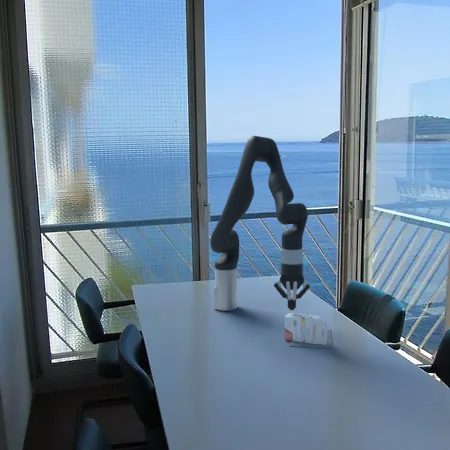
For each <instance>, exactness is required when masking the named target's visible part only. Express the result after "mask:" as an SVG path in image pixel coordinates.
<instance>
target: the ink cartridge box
mask: <svg viewBox="0 0 450 450" xmlns="http://www.w3.org/2000/svg"><path fill="white" fill-rule="evenodd" d="M322 330H324V333H325V334H324V337H322ZM327 330H328V322H327V321H322V316H319V315H313V314H305V313H304V314H303V313H295V312H288V313H287V314H286V315H285V316H284V339H285V340H286V341H290V340H291V341H298V342H304V343H311V344H322V345H327Z"/></svg>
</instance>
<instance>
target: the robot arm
mask: <svg viewBox="0 0 450 450" xmlns="http://www.w3.org/2000/svg"><path fill="white" fill-rule="evenodd" d="M256 162H260V163H265V164H267V166H268V168H269V176H268V182H267V185H268V189H269V191H270V193H271V195H272V197H273V200H274V206H275V215H276V219H277V221H278V222H279V223H280V224H281V225H286V226H287V225H292V227H291V228H290V229H288V230H285V231H284V232H282V233H281V234H282V235H281V253H280V277H279V280H278V281H276V282H275V281H274V283H273V286H274V289H276V291H277V292H278V293H279V295H280V296H281V297H282V298H283V299H286V301H287V309H289V311H294V310H295V309H296V308H297V300H298V299H299V300H300V299H301V298H302V297H303V296H304V295H305V294H306V293H307V291H308V290H309V289H310V288H311V284H310V283H309V282H307V281H306V280H305V277H304V253H303V251H304V250H303V237H304V233H305V228H306V224H307V221H308V217H309V213H308V209H307V207H306V205H305V204H304V203H301V202H300V203H299V202H294V203H291V202H292V201H293V200H294V198H295V197H294V196H295V194H294V192H293V189H292V187H291V185H290V183H289V181H288V179H287V177H286V174H285V171H284V167H283V163H282V159H281V156H280V152H279V148H278V145H277V143H276V141H275V140H274V139H273V138H271V137H270V138H269V137H267V136H258V135H251V136H250V137H249V138H248V139H247V140H246V143H245V145H244V148H243V151H242V156H241V160H240V162H239V163H240V164H239V166H238V170H237V173H236V176H235V178H234V181H233V184H232V186H231V189H230V191H229V194H228V195H227V196H228V197H227V200H226V203H225V205H224V207H223V210H222V212H221V215H220V217H219V220H218V222H217V224H216V226H215V228H214V229H213V231H212V234H211V236H210V241H209V244H210V248H211V250H212V251H213V252H214V253H217V254H221V255H220V256H219V258H217V260H215V262H214V287H213V293H214V298H213V299H214V300H213V301H214V303H213V304H214V310H218V311H222V312H224V311H225V312H227V311H235V310H237V308H238V263H239V259H240V255H239V254H240V237H239V234H238V232H237V231H236V230H234V229H233V228H234V227H235V226H236V224H237V222H239V221H240V220H241V218H242V217H244V215H245V214H246V213H247V211H248V210H249V208H250V205H251V204H252V201H253V199H254V196H255V186H254V181H253V178H252V171H253V168H254V165H255V163H256ZM282 286H283V288H284V289H285V290H286V291H285V290H284V289H283V288H282ZM301 287H302V288H301ZM300 288H301V290H300V291H299V292H298V291H297V290H299V289H300ZM297 292H298V293H297Z"/></svg>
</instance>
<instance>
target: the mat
mask: <svg viewBox="0 0 450 450" xmlns="http://www.w3.org/2000/svg"><path fill="white" fill-rule="evenodd" d="M324 334H325V333H324V330H323V329H322V337H324ZM289 347H295V348H296V347H297V348H311V349H329V350H332V349H333V339H332V330H331V329H327V345H322V344H311V343H304V342H298V341H291V340H289Z"/></svg>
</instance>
